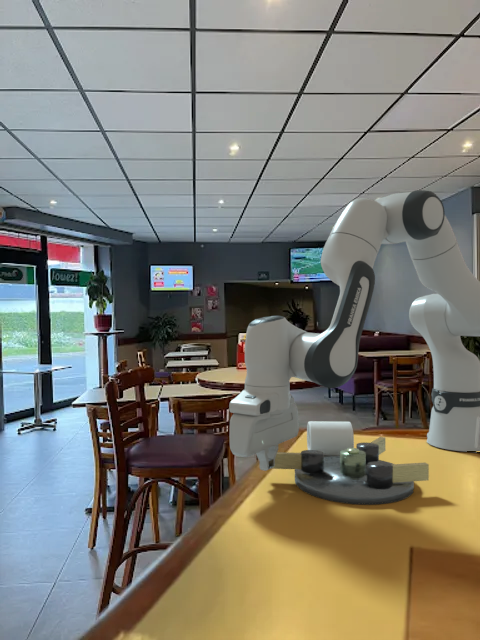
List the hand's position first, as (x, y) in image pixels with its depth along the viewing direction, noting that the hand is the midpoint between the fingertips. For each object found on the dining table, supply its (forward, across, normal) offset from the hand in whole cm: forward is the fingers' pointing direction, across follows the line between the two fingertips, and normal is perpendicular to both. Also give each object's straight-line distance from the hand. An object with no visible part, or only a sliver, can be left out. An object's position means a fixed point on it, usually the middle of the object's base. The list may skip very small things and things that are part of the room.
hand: (267, 468), depth 98 cm
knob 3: (+1, -9, +23) cm, 25 cm away
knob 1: (+1, -5, +3) cm, 6 cm away
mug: (+4, -28, 0) cm, 28 cm away
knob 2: (+1, -22, +13) cm, 26 cm away
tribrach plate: (+3, -11, +13) cm, 17 cm away
